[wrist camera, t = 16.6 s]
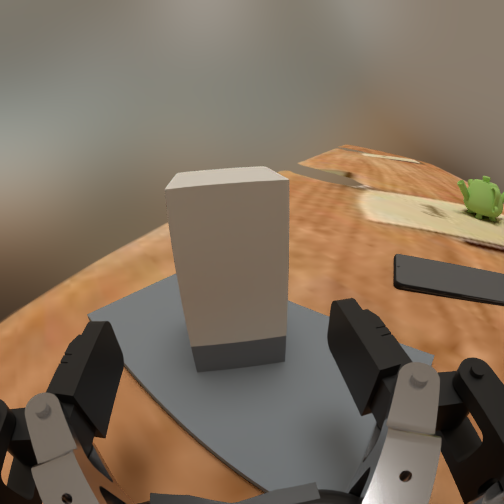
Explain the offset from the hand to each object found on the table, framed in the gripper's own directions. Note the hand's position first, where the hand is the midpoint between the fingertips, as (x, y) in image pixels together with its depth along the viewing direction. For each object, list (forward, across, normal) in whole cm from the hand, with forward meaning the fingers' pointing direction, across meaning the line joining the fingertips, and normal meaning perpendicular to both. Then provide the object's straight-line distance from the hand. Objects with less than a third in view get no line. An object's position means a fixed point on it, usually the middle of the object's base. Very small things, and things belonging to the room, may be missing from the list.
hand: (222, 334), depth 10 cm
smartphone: (+9, +23, -7) cm, 25 cm away
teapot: (+30, +52, -7) cm, 61 cm away
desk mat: (+5, 0, -6) cm, 8 cm away
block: (+6, +1, +4) cm, 7 cm away
